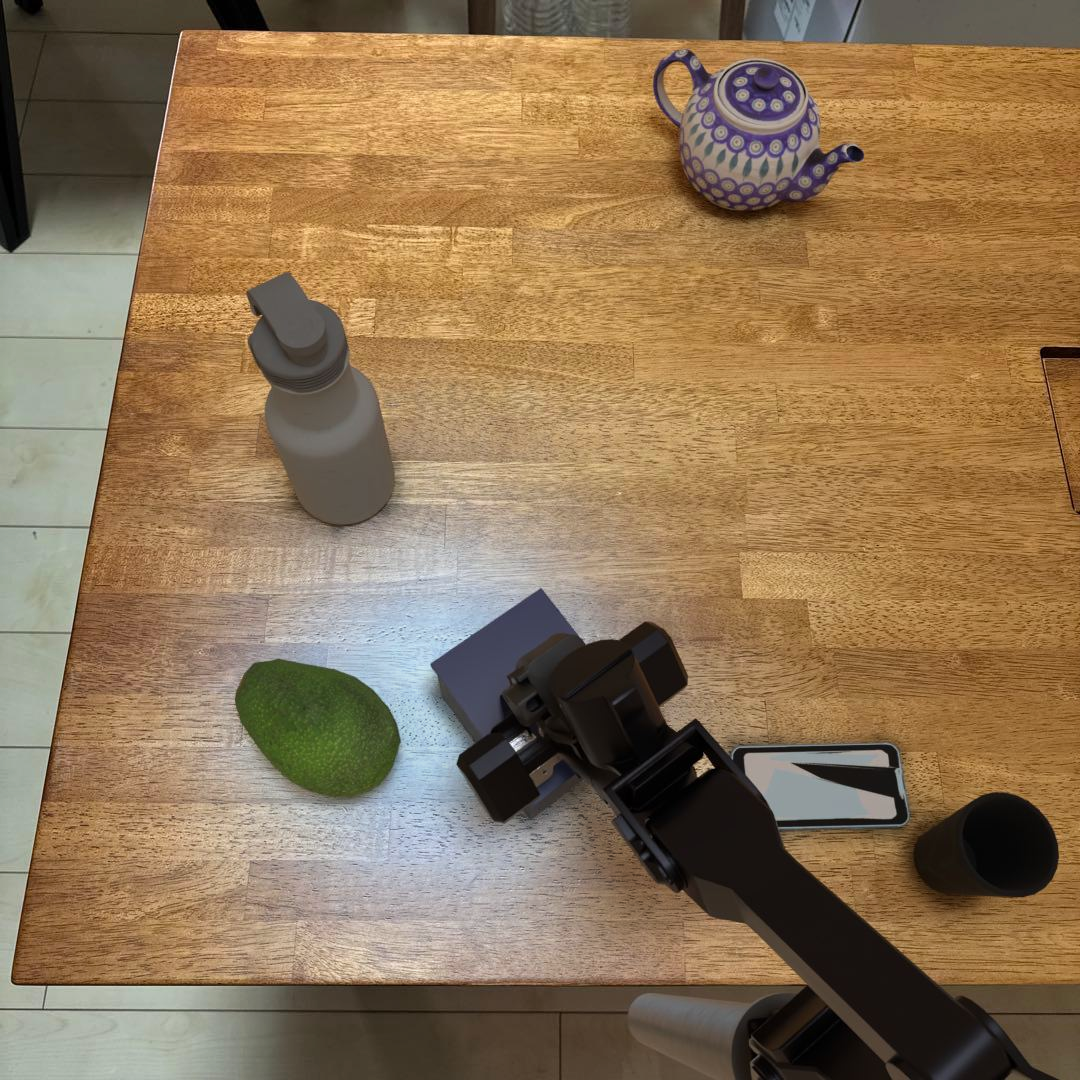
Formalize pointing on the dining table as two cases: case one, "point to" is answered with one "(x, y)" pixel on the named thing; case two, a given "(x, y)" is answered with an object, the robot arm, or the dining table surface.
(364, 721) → the fruit
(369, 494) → the water bottle
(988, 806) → the cup
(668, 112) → the teapot
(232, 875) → the dining table surface
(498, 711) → the lid
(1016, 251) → the dining table surface
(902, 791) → the smartphone
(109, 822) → the dining table surface
